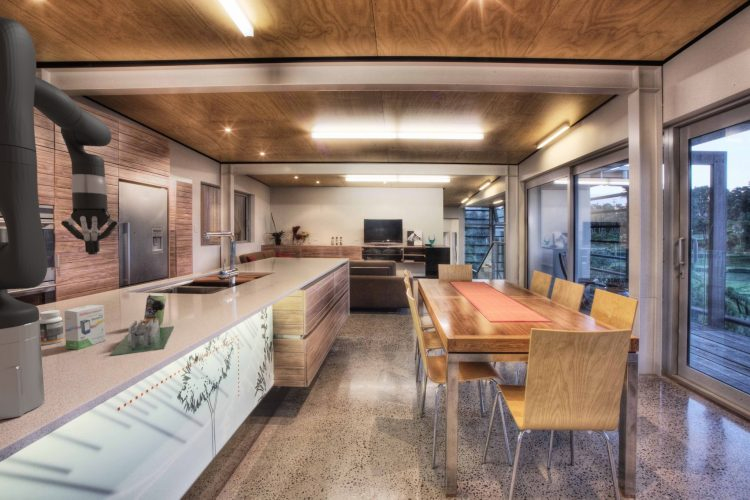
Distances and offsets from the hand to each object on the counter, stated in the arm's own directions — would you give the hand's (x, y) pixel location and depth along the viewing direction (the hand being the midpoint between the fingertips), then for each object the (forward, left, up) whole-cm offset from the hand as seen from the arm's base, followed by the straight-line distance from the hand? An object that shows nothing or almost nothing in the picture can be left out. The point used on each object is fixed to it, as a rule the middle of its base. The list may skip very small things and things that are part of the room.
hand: (93, 254), depth 95 cm
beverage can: (+28, -10, -29) cm, 42 cm away
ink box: (+12, +6, -29) cm, 32 cm away
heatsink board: (+10, -10, -29) cm, 32 cm away
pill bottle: (+20, +17, -29) cm, 39 cm away
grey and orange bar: (+9, -10, -25) cm, 28 cm away
